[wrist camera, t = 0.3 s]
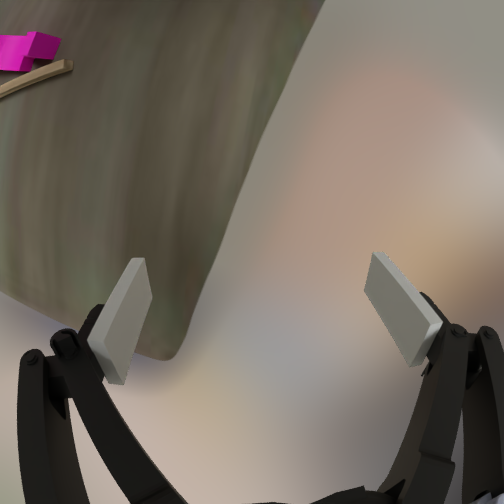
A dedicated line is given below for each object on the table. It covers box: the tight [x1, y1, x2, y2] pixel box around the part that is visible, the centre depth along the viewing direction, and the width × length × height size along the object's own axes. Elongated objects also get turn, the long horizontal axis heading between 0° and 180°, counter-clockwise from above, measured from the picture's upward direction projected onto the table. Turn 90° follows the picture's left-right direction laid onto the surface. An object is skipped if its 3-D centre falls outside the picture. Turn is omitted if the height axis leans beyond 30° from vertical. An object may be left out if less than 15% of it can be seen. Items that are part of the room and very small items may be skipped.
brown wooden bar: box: [0, 59, 73, 98], centre depth 28 cm, size 2×22×3 cm, turn 89°
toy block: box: [0, 32, 61, 72], centre depth 23 cm, size 15×6×8 cm, turn 67°
